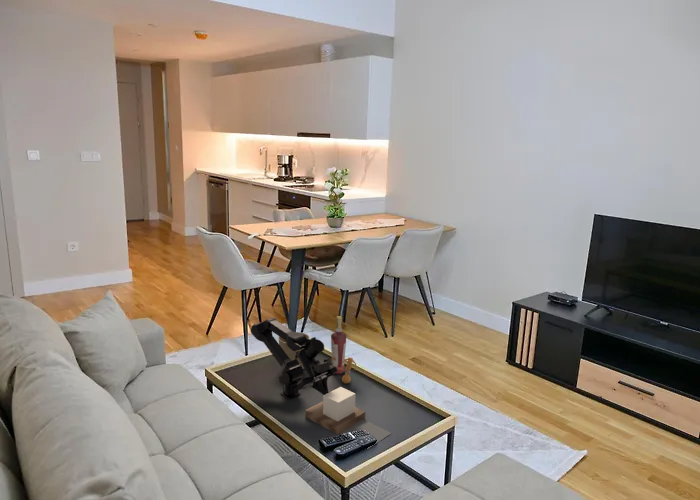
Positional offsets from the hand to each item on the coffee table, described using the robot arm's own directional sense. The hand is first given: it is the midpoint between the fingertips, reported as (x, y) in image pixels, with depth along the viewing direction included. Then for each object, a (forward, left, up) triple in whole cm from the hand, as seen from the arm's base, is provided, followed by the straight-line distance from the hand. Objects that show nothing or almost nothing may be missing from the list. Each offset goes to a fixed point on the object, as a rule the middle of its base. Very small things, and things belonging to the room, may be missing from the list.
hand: (327, 396), depth 206 cm
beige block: (+6, 0, -5) cm, 8 cm away
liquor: (-23, +30, -8) cm, 38 cm away
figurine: (-13, +26, -8) cm, 30 cm away
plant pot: (-41, +18, -8) cm, 45 cm away
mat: (+20, 0, -8) cm, 22 cm away
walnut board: (+4, 0, -8) cm, 9 cm away
